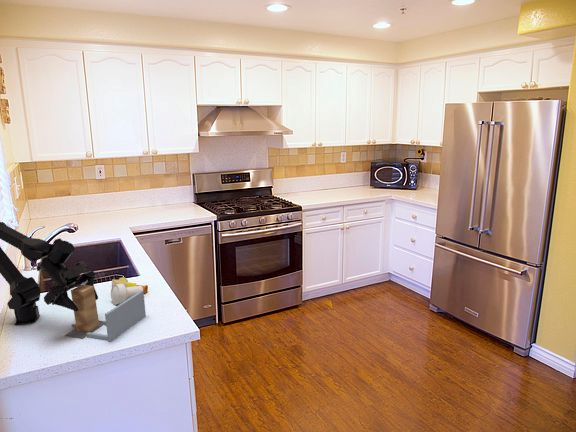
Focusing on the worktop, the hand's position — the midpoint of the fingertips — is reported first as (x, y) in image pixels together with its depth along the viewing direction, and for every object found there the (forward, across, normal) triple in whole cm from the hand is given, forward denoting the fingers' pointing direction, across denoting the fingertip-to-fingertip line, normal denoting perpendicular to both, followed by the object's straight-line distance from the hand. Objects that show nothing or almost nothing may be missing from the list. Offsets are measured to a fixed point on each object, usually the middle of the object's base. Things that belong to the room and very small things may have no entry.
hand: (87, 304), depth 141 cm
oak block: (+4, 0, +9) cm, 10 cm away
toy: (+1, +33, +13) cm, 36 cm away
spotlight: (+5, +23, +9) cm, 26 cm away
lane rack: (+12, +4, +2) cm, 13 cm away
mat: (+5, 0, +8) cm, 10 cm away
